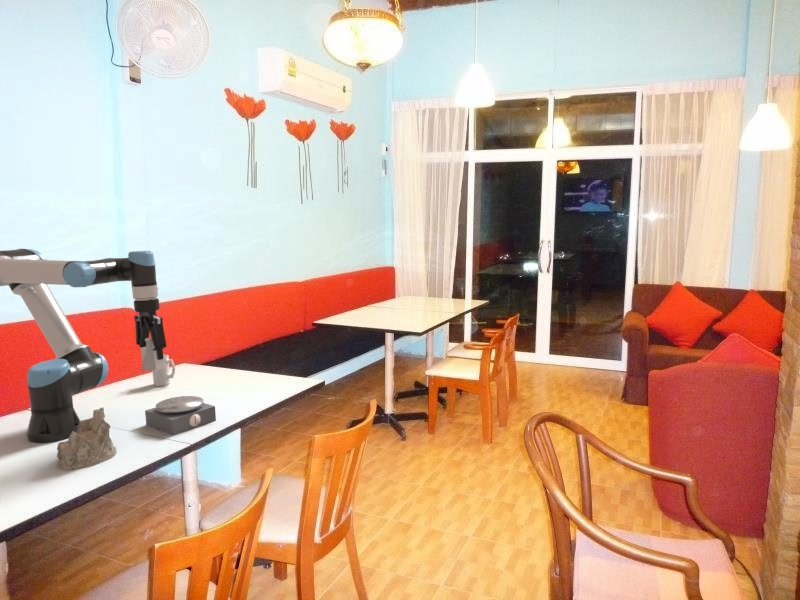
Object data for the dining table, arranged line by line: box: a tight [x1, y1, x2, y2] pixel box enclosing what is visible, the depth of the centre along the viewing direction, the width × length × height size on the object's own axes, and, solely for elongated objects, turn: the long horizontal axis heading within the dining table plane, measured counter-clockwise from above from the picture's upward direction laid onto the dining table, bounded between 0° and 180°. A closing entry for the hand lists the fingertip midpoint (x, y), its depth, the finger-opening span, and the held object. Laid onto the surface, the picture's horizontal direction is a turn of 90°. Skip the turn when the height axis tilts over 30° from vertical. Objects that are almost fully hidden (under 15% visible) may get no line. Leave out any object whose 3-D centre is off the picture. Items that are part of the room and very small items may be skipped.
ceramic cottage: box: [56, 407, 118, 471], centre depth 168 cm, size 16×16×15 cm
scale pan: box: [155, 395, 205, 413], centre depth 195 cm, size 15×15×1 cm
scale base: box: [144, 402, 217, 436], centre depth 196 cm, size 16×16×6 cm
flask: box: [140, 337, 165, 372], centre depth 190 cm, size 7×7×10 cm
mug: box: [151, 353, 176, 387], centre depth 241 cm, size 10×7×12 cm, turn 76°
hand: (153, 367), depth 191 cm, fingers closed on flask, 7 cm apart
